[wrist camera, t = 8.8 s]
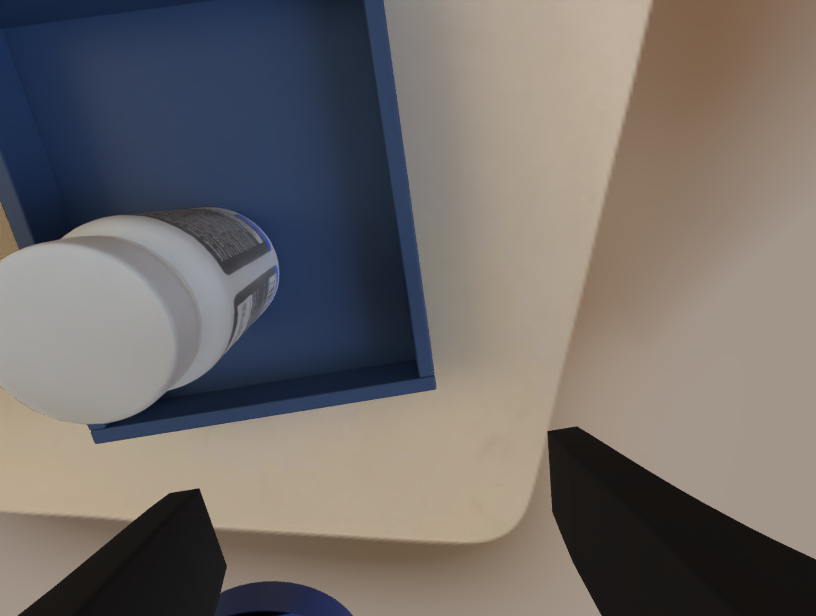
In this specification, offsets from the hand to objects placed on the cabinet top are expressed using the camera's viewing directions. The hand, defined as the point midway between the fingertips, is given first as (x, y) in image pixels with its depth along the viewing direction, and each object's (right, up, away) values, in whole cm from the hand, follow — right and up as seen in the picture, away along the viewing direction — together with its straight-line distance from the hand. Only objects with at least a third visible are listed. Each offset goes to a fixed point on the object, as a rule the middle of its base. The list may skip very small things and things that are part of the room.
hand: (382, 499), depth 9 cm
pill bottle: (-7, +6, +8) cm, 12 cm away
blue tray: (-6, +8, +8) cm, 13 cm away
